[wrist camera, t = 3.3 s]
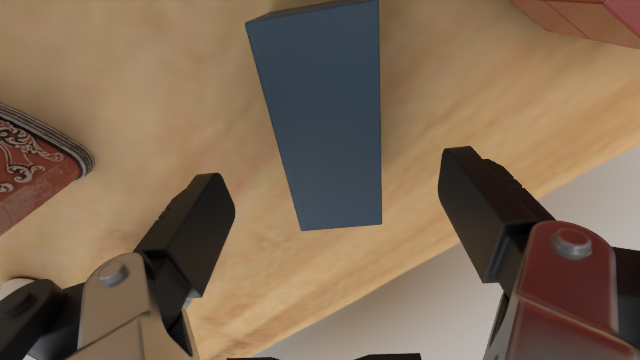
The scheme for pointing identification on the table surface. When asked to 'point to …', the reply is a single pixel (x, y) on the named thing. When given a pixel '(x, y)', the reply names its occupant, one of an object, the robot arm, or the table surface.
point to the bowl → (588, 19)
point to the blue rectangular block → (325, 107)
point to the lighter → (34, 165)
